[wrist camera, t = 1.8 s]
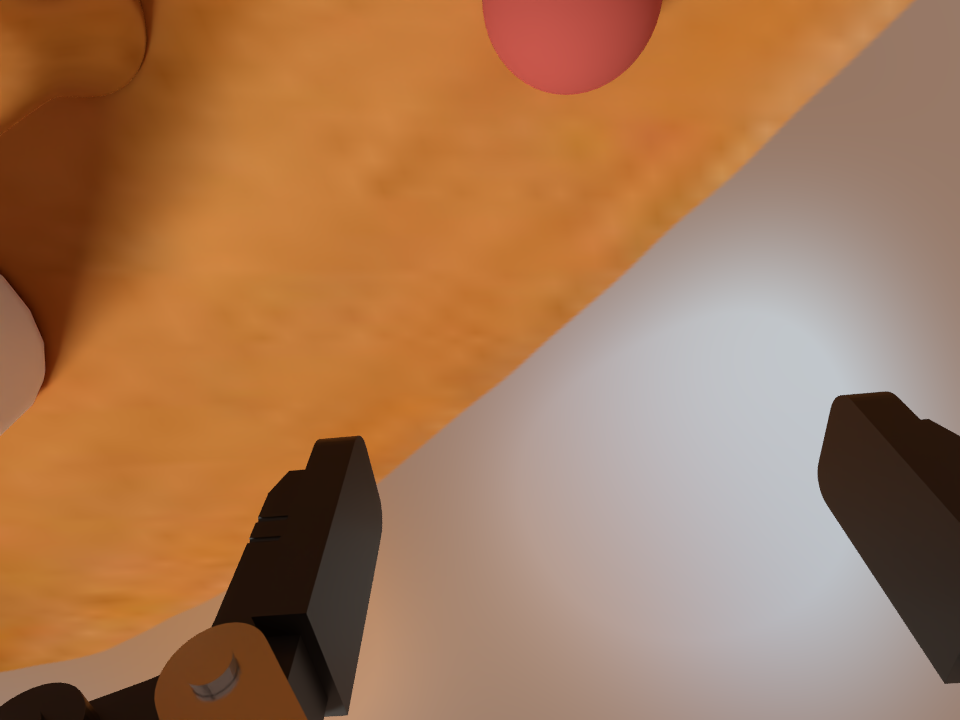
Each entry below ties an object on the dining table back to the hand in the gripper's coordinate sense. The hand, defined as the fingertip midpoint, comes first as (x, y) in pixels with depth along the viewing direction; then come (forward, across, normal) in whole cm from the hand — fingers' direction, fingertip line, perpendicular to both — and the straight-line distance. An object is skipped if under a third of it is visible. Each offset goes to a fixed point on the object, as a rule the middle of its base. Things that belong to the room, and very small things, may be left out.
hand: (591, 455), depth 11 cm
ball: (+16, -2, -6) cm, 17 cm away
